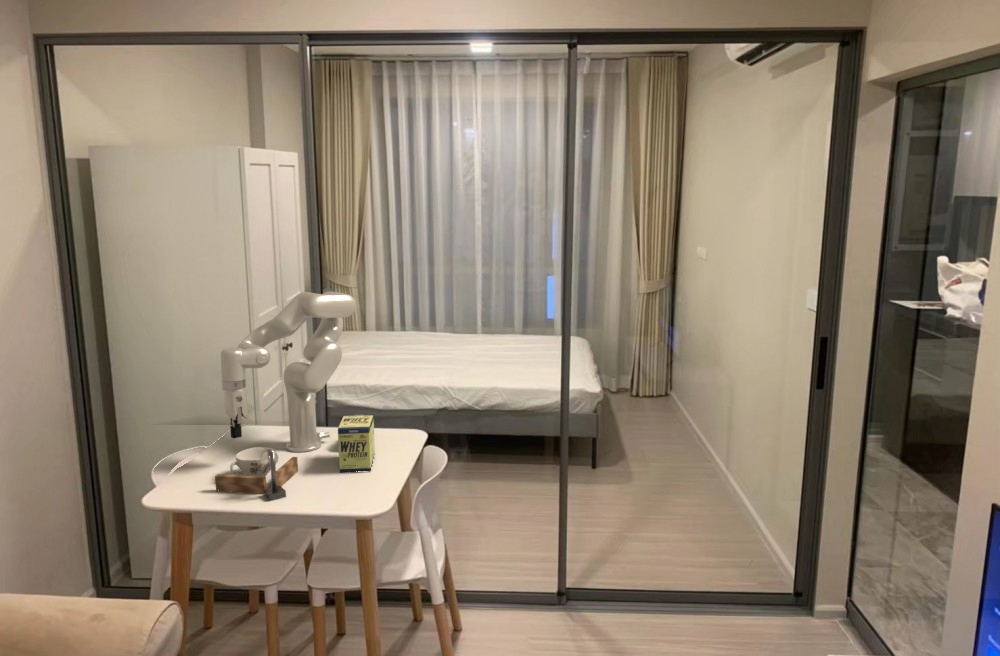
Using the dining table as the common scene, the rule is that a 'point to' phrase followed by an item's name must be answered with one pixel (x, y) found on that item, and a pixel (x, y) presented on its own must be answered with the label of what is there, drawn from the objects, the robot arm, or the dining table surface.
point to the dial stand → (272, 476)
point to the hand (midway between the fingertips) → (236, 437)
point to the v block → (255, 479)
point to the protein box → (356, 443)
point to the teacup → (251, 462)
